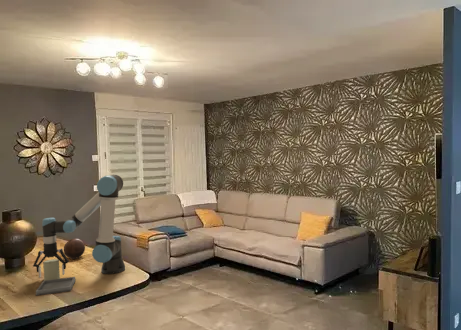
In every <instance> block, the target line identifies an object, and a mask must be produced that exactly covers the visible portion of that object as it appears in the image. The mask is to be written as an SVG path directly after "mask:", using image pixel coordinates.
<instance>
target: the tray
mask: <svg viewBox="0 0 461 330" xmlns="http://www.w3.org/2000/svg"><path fill="white" fill-rule="evenodd" d="M75 282H76V276H72V277H71V276H70V277H69V276H68V277H63V278H61V277H60V279H53V280H44V279H43V281H42V282H41V283H40V284H39V286H38V287H37V289H36V290H35V296H37V297H38V296H43V295H51V294H52V295H53V294H57V293H67V292H71V291H72V289H73V287H74V285H75Z"/></svg>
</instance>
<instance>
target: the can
mask: <svg viewBox="0 0 461 330" xmlns="http://www.w3.org/2000/svg"><path fill="white" fill-rule="evenodd" d="M42 264H43V281H44V280H53V279H61V274H60V261H59V260H58V259H57V258H54V259H47V260H45V261H44V260H43V262H42Z"/></svg>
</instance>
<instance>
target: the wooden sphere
mask: <svg viewBox="0 0 461 330" xmlns="http://www.w3.org/2000/svg"><path fill="white" fill-rule="evenodd" d="M85 251H86V246H85V243H84V242H83V241H82V239H79V238H72V239H69V240H68V241H66V242H65V244H64V246H63V252H64V254H65V256H66V257H67V259H70V260H76V259H79V258H81V257H82V256H83V254H85Z"/></svg>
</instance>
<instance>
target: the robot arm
mask: <svg viewBox="0 0 461 330" xmlns="http://www.w3.org/2000/svg"><path fill="white" fill-rule="evenodd" d="M123 188H124V180H123V179H122V177H121V176H119V175H118V174H109V175H104V176H102V177H101V178H100V179H99V180H98V181H97V183H96V190H97V193H96V194H95V195H93V196H92V198H90V199H89V200H88V201H87V202H86V203H84V205H83V206H82V207H81V208H80V209H79V210H77V211H76V212H75V213H74V214H73V215H72V216H71V217H70V218H68V219H65V220H56V218H55V217H46V218H43V219H42V220H41V221H42V223H41V226H42V241H43V242H42V243H43V244H42V245H43V250H39V251H38V253H37V257H36V259H35V261H34V263H33V265H32V267H33V268H34V267H35V269H36V273H38V278H39V279H40V278H41V277H42V268H41V267H42V266H41V264H43V262H44V260H45V259H47V258H48V259H49V258H55V259H58V260H59V263H61V264H62V265H61V269H62V270H61V274H62V276H65V270H66V269H67V264H68V263H69V258H68V257H67V256H66V255H65V254H64V248H60V249H58V244H57V243H58V242H57V234H60V233H61V234H66V233H67V234H70V233H73V232H75V230H76V229H77V228H79V227H81V226H82V225H83V223H84V222H85V221H86V220H87V219H88V218H89V217H90V216H91V215H92V214H94V212H96V211H97V210H98V209H99V208H100V211H99V225H98V237H97V238H96V239H95V244H94V245H95V246H94V247H93V249H92V252H91V255H92V256H91V257H92V258H93V259H94V260H95V262H97V263H99V264H102V265H101V273H102V274H104V275H112V274H113V275H114V274H119V273H121V272H124V271H125V269H126V265H125V263H124V259H123V253H122V237H121V236H120V235H114V226H115V215H116V214H115V210H116V200H117V199H118V198H119V193H120V191H121V190H122V189H123ZM59 253H60V255H59ZM42 254H43V255H44V256H43V257H42V259H41V260H40V261H39V259H40V257H41V256H42ZM38 262H39V263H38Z"/></svg>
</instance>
